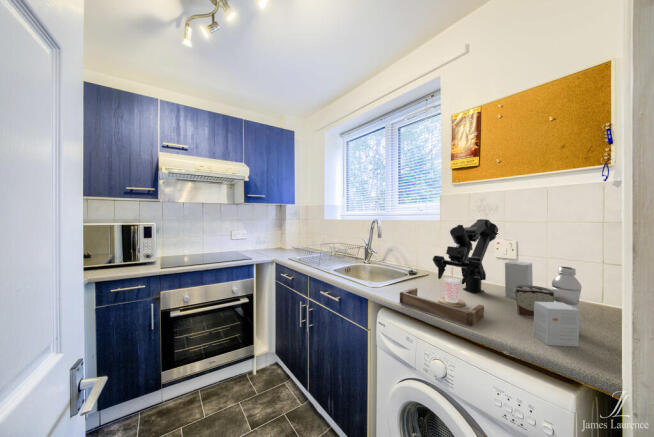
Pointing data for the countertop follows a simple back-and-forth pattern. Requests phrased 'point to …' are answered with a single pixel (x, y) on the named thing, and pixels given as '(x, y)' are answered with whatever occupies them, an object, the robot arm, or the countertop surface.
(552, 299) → the food container
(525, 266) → the skincare box
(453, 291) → the beverage cup
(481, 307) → the walnut bay
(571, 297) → the plastic bottle
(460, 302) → the cork coaster
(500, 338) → the countertop surface
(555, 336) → the small box
